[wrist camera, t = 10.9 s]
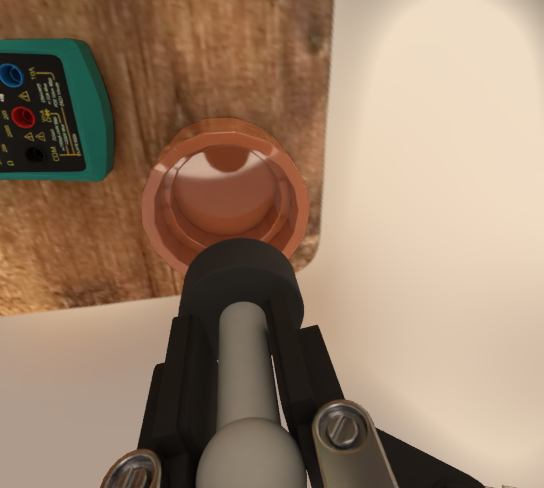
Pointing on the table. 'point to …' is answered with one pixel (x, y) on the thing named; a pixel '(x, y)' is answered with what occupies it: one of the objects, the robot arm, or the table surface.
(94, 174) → the digital multimeter
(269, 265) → the stopper
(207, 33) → the table surface
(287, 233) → the basin bowl
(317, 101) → the table surface
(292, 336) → the robot arm
